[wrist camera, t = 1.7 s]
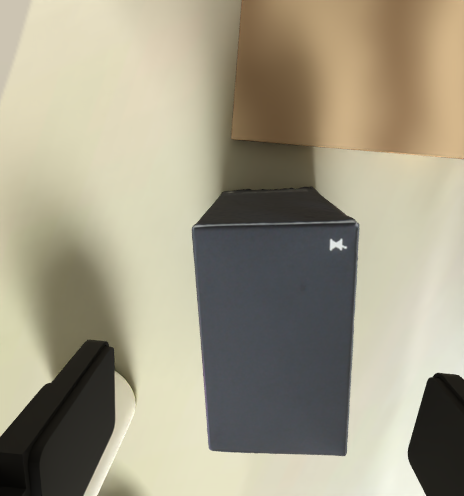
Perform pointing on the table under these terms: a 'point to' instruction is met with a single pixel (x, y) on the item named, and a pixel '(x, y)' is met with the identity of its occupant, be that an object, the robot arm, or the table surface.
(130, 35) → the table surface
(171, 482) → the table surface
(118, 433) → the can
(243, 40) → the board
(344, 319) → the small box
